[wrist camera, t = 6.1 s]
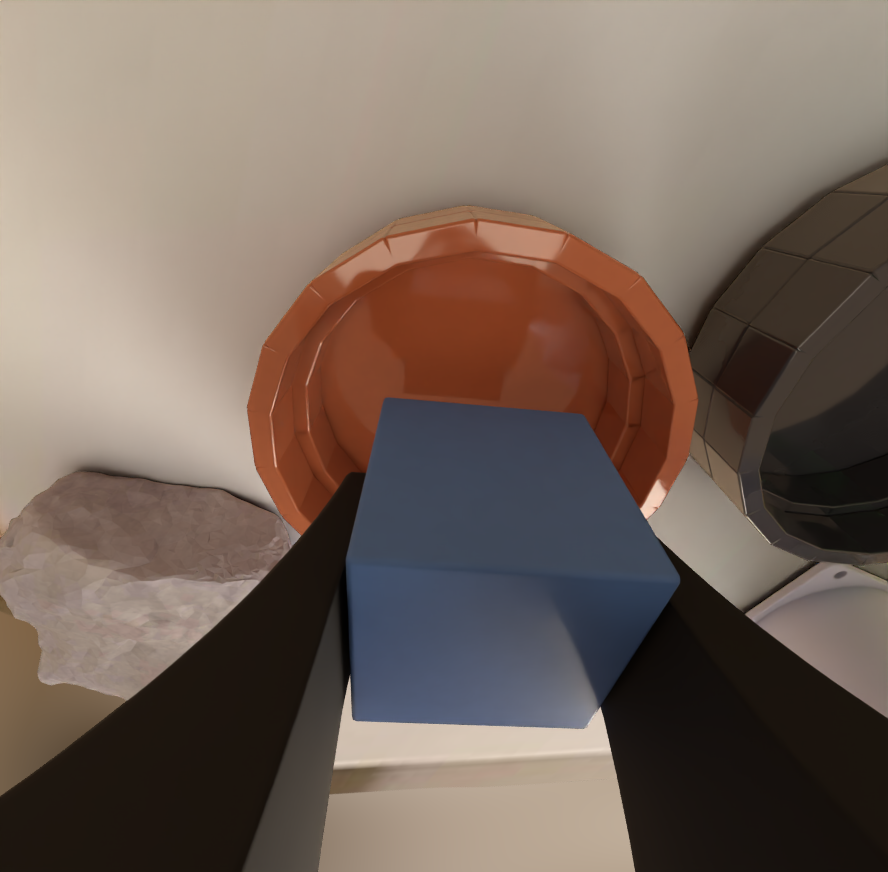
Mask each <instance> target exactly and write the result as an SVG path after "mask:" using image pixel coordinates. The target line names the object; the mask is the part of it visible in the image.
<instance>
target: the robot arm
mask: <svg viewBox="0 0 888 872" xmlns="http://www.w3.org/2000/svg"><path fill="white" fill-rule="evenodd" d="M365 476H366V473H361V472H350V473H349V474H348V475H346V477H345V478H344V480H343V481H342V483H341V484H340V486H339V487H338V489H337V490H336V492H335V493H334V495H333V496H332V497H331V499H330V500H329V502H328V503H327V504H326V506H325V507H324V508H323V509H322V511H321V512H320V513H319V515H318V516H317V517H316V519H315V520H314V521H313V522H312V523H311V525H310V526H309V527H308V528H307V530H306V531H305V532H304V533H303V534H302V536H301V537H300V538H299V539H298V541H297V542H296V543H295V544H294V545H293V546H292V548H291V549H290V550H289V551H288V552H287V553H286V554H285V555H284V556H283V558H282V559H281V560H280V561H279V562H278V563H277V564H276V565H275V566H274V567H273V568H272V570H271V571H270V572H269V573H268V574H267V575H266V576H265V577H264V578H263V579H262V580H261V581H260V583H259V584H258V585H257V586H256V587H255V588H254V589H253V590H252V591H251V592H250V593H249V594H248V595H247V596H246V597H245V598H244V599H243V600H242V601H241V602H240V603H239V604H238V605H237V606H236V607H234V608H233V609H232V610H231V611H230V612H229V613H228V614H227V615H226V616H225V617H224V618H223V619H222V620H221V621H220V622H219V623H218V624H217V625H215V626H214V627H213V628H212V629H211V630H210V631H209V632H208V633H207V634H205V635H204V636H203V637H202V638H201V639H200V640H199V641H198V642H196V643H195V644H194V645H193V646H192V647H191V648H190V649H188V650H187V651H186V652H185V653H184V654H183V655H182V656H180V657H179V658H178V659H177V660H176V661H175V662H174V663H173V664H171V665H170V666H169V667H168V668H167V669H165V670H164V671H163V672H162V673H161V674H159V675H158V676H157V677H156V678H155V679H153V680H152V681H151V682H150V683H149V684H147V685H146V686H145V687H144V688H143V689H141V690H140V691H139V692H138V693H136V694H135V695H134V696H132V697H131V698H130V699H129V700H127V701H126V702H125V703H123V704H122V705H121V706H120V707H118V708H117V709H116V710H114V711H113V712H112V713H111V714H109V715H108V716H107V717H106V718H104V719H103V720H102V721H101V722H99V723H98V724H97V725H95V726H94V727H93V728H92V729H90V730H89V731H88V732H86V733H85V734H84V735H82V736H81V737H80V738H79V739H77V740H76V741H75V742H73V743H72V744H71V745H70V746H68V747H67V748H66V749H65V750H63V751H62V752H61V753H59V754H58V755H57V756H55V757H54V758H53V759H51V760H50V761H48V762H47V763H46V764H44V765H43V766H42V767H40V768H39V769H38V770H36V771H35V772H34V773H32V774H31V775H30V776H28V777H27V778H25V779H24V780H22V781H21V782H20V783H18V784H17V785H15V786H14V787H13V788H11V789H10V790H8V791H7V792H6V793H4V794H3V795H1V796H0V872H318V867H319V860H320V853H321V846H322V839H323V832H324V826H325V819H326V812H327V806H328V798H329V793H330V786H331V779H332V773H333V766H334V760H335V753H336V747H337V741H338V734H339V728H340V721H341V715H342V709H343V704H344V699H345V695H346V690H347V685H348V681H349V677H350V654H349V629H348V605H347V580H346V556H347V552H348V548H349V543H350V539H351V535H352V531H353V527H354V522H355V518H356V514H357V510H358V505H359V501H360V497H361V493H362V489H363V484H364V480H365ZM657 539H658V540H659V542H660V544H661V545H662V547H663V549H664V551H665V552H666V554H667V556H668V557H669V559H670V561H671V562H672V564H673V566H674V567H675V569H676V571H677V572H678V574H679V576H680V584H679V586H678V587H677V589H676V590H675V592H674V593H673V595H672V597H671V598H670V600H669V601H668V603H667V604H666V606H665V607H664V609H663V610H662V612H661V614H660V615H659V617H658V618H657V620H656V621H655V623H654V624H653V626H652V627H651V629H650V631H649V632H648V634H647V635H646V637H645V638H644V640H643V641H642V643H641V644H640V646H639V647H638V649H637V651H636V652H635V654H634V655H633V657H632V658H631V660H630V661H629V663H628V664H627V666H626V668H625V669H624V671H623V672H622V674H621V675H620V677H619V678H618V680H617V681H616V683H615V685H614V686H613V688H612V689H611V691H610V692H609V694H608V695H607V697H606V698H605V700H604V702H603V703H602V705H601V710H602V713H603V717H604V721H605V725H606V729H607V734H608V738H609V743H610V747H611V752H612V756H613V761H614V765H615V770H616V774H617V779H618V783H619V789H620V794H621V799H622V803H623V809H624V814H625V819H626V824H627V829H628V833H629V839H630V844H631V850H632V855H633V861H634V867H635V872H888V581H886V580H884V579H881V578H879V577H877V576H874V575H872V574H870V573H868V572H865V571H863V570H861V569H858V568H856V567H854V566H851V565H849V564H838V563H827V562H820V563H818V564H817V565H815V566H814V567H812V568H811V569H809V570H808V571H806V572H805V573H804V574H802V575H801V576H799V577H798V578H796V579H795V580H793V581H792V582H790V583H789V584H788V585H786V586H785V587H783V588H782V589H780V590H779V591H777V592H776V593H774V594H773V595H772V596H770V597H769V598H767V599H766V600H764V601H763V602H761V603H760V604H758V605H757V606H756V607H754V608H753V609H751V610H750V611H748V612H747V613H745V614H744V613H742V612H741V611H740V610H739V609H738V608H736V607H735V606H734V605H733V604H732V603H731V602H729V601H728V600H727V599H726V598H725V597H723V596H722V595H721V594H720V593H719V592H718V591H716V590H715V589H714V588H713V587H712V586H710V585H709V584H708V583H707V582H706V581H705V580H704V579H702V578H701V577H700V576H699V575H698V574H697V573H696V572H694V571H693V570H692V569H691V568H690V567H689V566H688V565H687V564H686V563H684V562H683V561H682V560H681V559H680V558H679V557H678V556H677V555H676V554H675V553H674V552H673V551H671V550H670V549H669V548H668V547H667V546H666V545H665V544H664V543H663V542H662V541H661V540H660V539H659V538H658V537H657Z"/></svg>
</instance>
